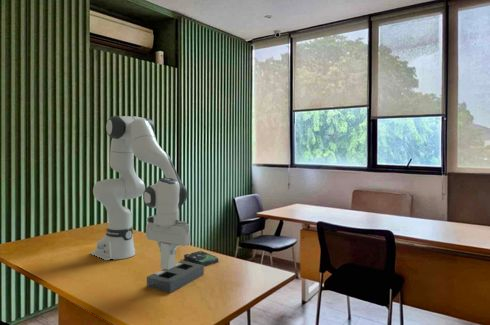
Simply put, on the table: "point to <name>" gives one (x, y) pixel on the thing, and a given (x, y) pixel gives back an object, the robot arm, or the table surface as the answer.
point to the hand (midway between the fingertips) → (167, 253)
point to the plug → (167, 256)
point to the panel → (175, 276)
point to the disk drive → (201, 258)
